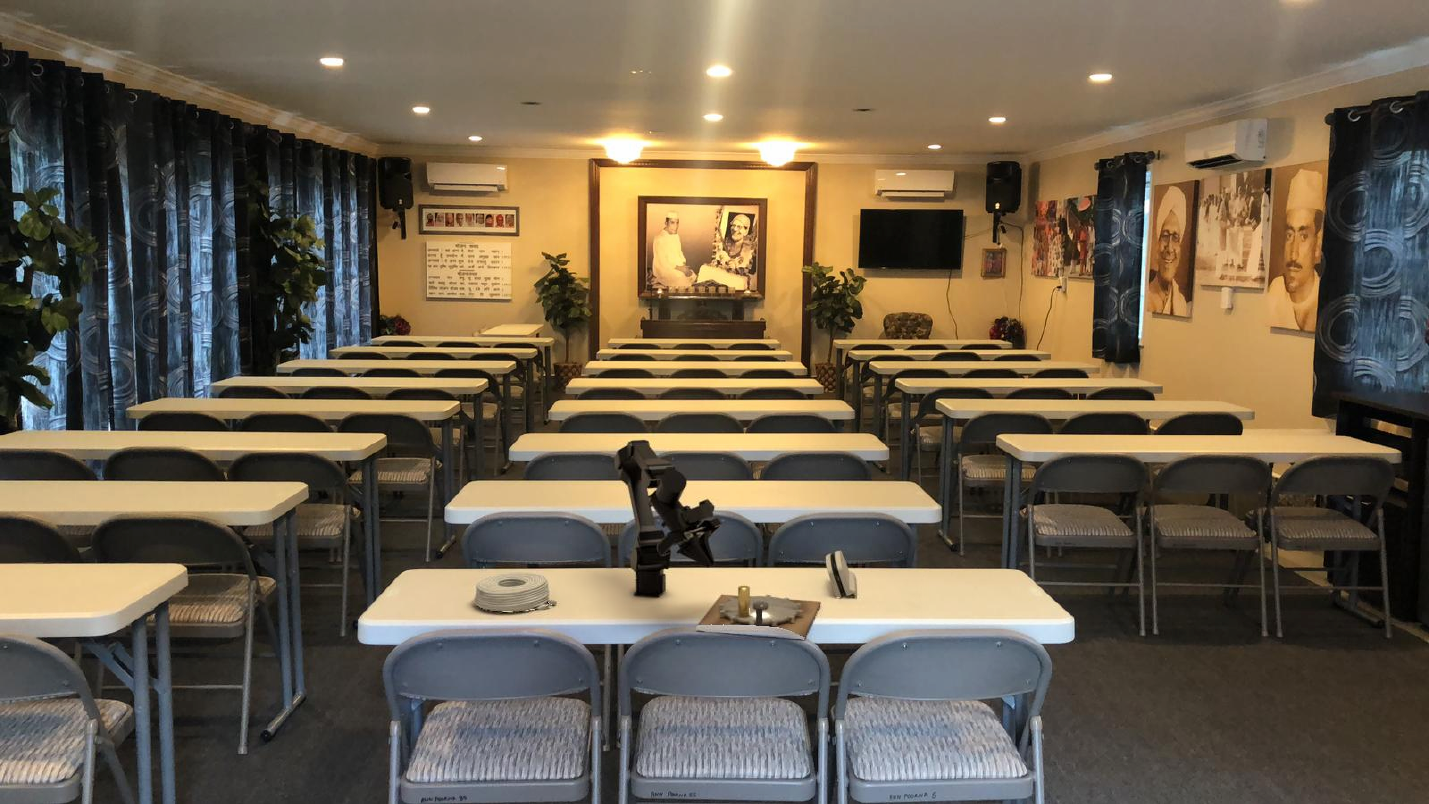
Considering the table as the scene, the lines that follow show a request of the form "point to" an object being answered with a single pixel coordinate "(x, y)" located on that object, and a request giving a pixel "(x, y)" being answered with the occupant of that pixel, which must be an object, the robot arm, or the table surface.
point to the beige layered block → (841, 575)
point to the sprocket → (771, 609)
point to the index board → (798, 627)
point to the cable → (513, 592)
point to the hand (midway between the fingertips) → (711, 565)
